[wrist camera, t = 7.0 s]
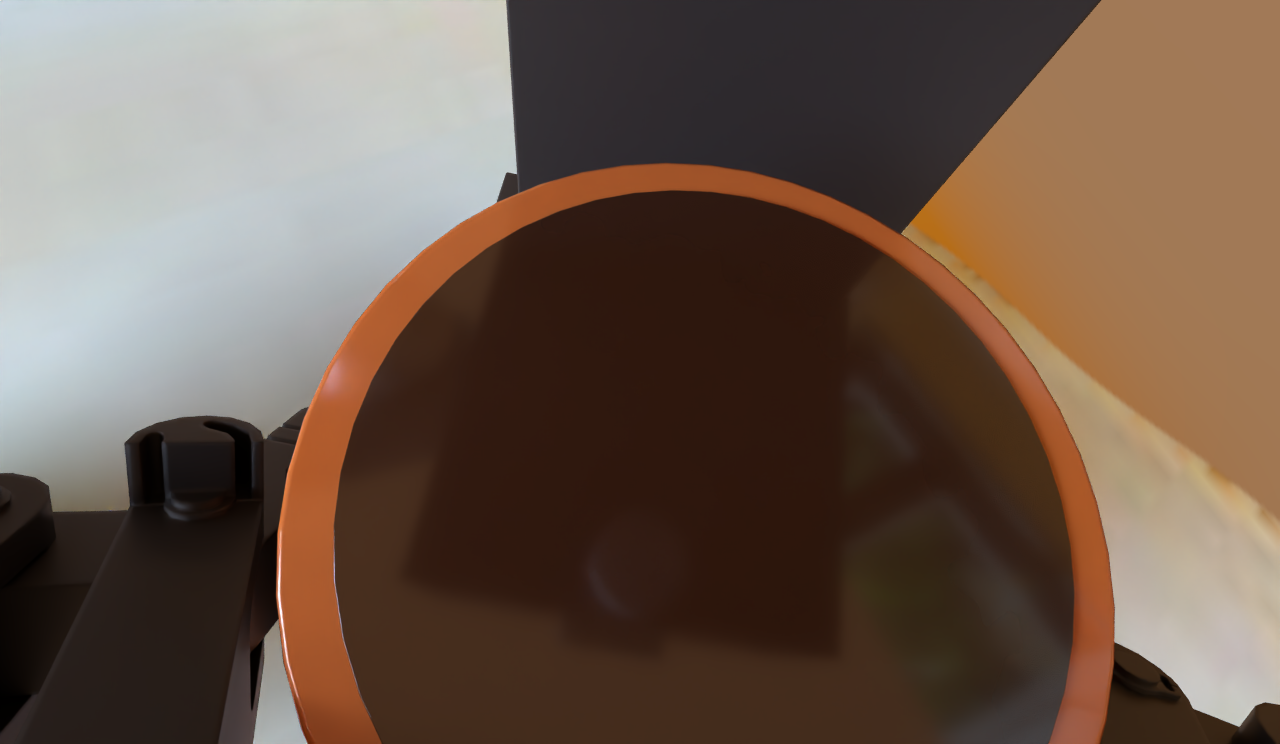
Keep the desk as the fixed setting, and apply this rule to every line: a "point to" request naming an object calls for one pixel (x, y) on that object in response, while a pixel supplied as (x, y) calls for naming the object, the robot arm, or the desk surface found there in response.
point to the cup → (688, 489)
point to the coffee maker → (775, 88)
